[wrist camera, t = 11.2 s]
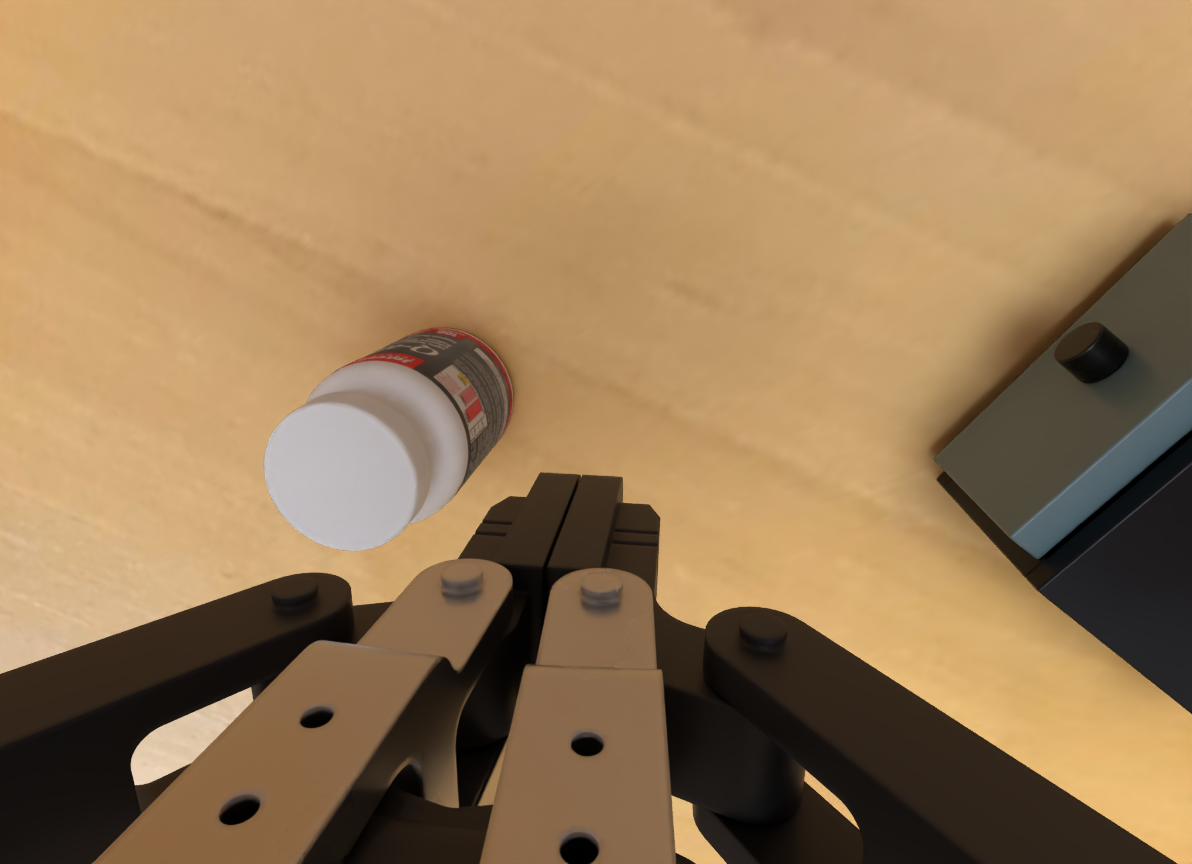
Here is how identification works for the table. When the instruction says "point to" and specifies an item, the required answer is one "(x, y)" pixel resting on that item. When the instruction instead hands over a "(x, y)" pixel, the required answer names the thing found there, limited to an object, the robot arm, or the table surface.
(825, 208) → the table surface
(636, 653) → the robot arm
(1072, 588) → the cabinet
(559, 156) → the table surface
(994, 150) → the table surface
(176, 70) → the table surface
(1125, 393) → the drawer
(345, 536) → the pill bottle
